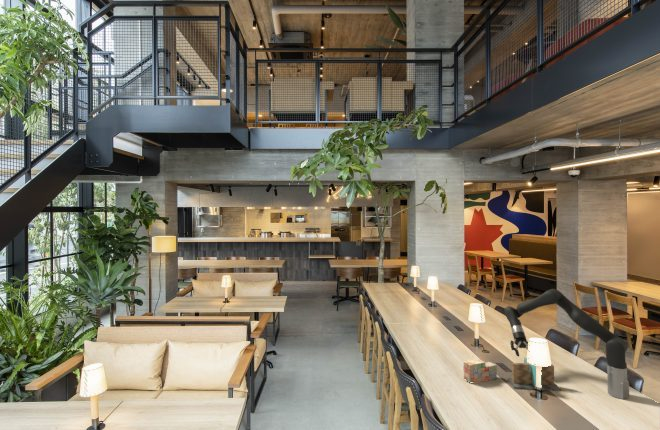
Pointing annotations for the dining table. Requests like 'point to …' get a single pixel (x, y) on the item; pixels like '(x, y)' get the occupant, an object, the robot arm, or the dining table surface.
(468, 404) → the dining table surface
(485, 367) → the stack of blocks
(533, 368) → the teal plate
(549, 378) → the halving stand
